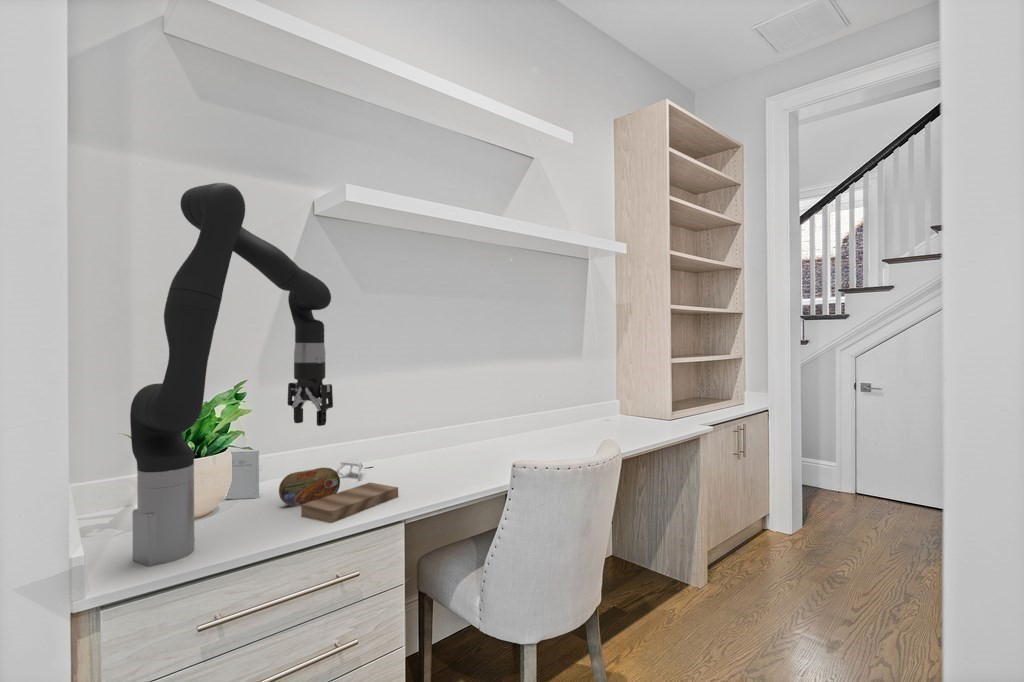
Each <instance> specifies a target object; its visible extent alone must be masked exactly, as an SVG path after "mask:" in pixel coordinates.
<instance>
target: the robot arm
mask: <svg viewBox="0 0 1024 682" xmlns="http://www.w3.org/2000/svg"><path fill="white" fill-rule="evenodd" d="M245 202H246V201H245V199H244V196H243V194H242V193H241V191H240V190H239V189H238V188H237V187H236V186H235V185H233V184H231V183H227V182H214V183H210V184H204V185H199V186H194V187H192V188H189V189H188V190H185V192H184V193H183V194H182V195H181V199H180V210H181V212H182V215H183V216H184V218H185V219H186V220H187V222H188V223H190V224H191V225H192V226H193V227H195V228H196V229H197V230H199V231H200V232H199V234H198V238H197V241H196V243H195V245H194V247H193V249H192V251H191V252H190V253H189V254H188V256H187V258H186V259H185V260H184V262H183V263H182V264H181V265H180V267H179V268H178V270H177V271H176V272H175V273H176V274H175V275H174V276H173V279H172V280H171V283H170V286H169V290H168V292H167V297H166V301H165V305H164V312H163V323H164V330H165V333H166V334H165V335H166V339H167V345H168V361H167V366H166V369H165V374H164V377H163V381H162V383H161V382H160V383H151V384H148V385H145V386H144V387H142V388H141V389H139V391H137V392H136V394H135V396H134V397H133V399H132V402H131V404H130V412H129V413H130V414H129V420H130V437H131V439H130V440H131V450H132V454H133V456H134V458H135V461H136V465H137V466H136V467H137V468H136V469H137V470H136V471H137V474H136V476H137V477H136V481H137V483H136V484H137V485H136V486H137V492H136V493H137V508H135V509H133V510H132V513H131V515H132V561H134V562H136V563H139V564H142V565H144V566H147V567H153V566H156V565H161V564H167V563H171V562H176V561H179V560H181V559H184V558H187V557H189V556H190V555H191V554H193V553H194V551H195V541H196V539H195V455H194V450H193V448H192V447H190V445H188V444H187V442H186V441H185V439H184V437H183V433H184V432H186V431H189V430H190V429H191V428H192V427H193V426H194V425H195V424H196V423H197V421H198V420H199V418H200V416H201V413H202V411H203V410H202V409H203V405H204V397H205V389H206V388H205V387H206V380H207V370H208V369H207V367H208V364H209V363H208V361H209V356H210V352H211V347H212V342H213V339H214V334H215V333H214V331H215V329H216V324H217V320H218V317H219V312H220V308H221V304H222V298H223V292H224V288H225V284H226V279H227V276H228V271H229V268H230V267H229V266H230V264H231V260H232V259H231V258H232V255H233V253H235V254H236V255H237V256H239V257H241V258H242V259H243V260H245V261H246V262H247V263H249V264H250V265H251V266H252V267H254V268H255V269H256V270H258V271H259V272H260V273H261V274H262V275H263V276H264V277H265V278H267V279H268V280H269V281H270V282H271V283H272V284H274V285H275V286H276V288H278V289H280V290H282V291H285V292H289V293H288V299H287V300H288V305H289V306H288V307H289V311H290V314H291V317H292V321H293V324H294V342H295V343H294V350H293V379H294V380H296V381H297V382H296V381H295V382H289V383H288V384H287V385H288V387H287V406H290V407H291V408H292V409H293V421H294V422H293V423H294V424H302V423H303V422H304V408H303V407H304V405H305V403H306V402H311V403H312V405H315V408H316V426H318V427H322V426H323V427H324V426H325V425H326V423H327V410H330V409H332V408H333V407H334V400H333V399H334V397H333V384H331V383H329V384H327V383H326V384H324V383H323V380H324V379H325V378H326V347H325V324H324V323H323V321H321V320H319V319H315V317H314V314H313V311H320V310H324V309H326V308H327V307H329V306H330V304H331V302H332V293H331V291H330V289H329V287H328V286H327V285H326V284H325V282H323V281H322V280H321V279H319V278H318V277H316V276H315V275H313V274H311V273H310V272H308V271H306V270H304V269H303V268H301V267H299V265H298V264H296V262H294V260H292V259H291V258H290V257H289V256H288V255H287V254H286V253H285V252H284V251H282V250H281V249H280V248H278V247H277V246H275V245H274V244H272V243H270V242H268V241H267V240H265V239H263V238H261V237H259V236H258V235H255V234H254V233H252V232H250V231H249V230H248V229H246V228H245V227H243V224H244V219H245V215H246V203H245Z"/></svg>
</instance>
